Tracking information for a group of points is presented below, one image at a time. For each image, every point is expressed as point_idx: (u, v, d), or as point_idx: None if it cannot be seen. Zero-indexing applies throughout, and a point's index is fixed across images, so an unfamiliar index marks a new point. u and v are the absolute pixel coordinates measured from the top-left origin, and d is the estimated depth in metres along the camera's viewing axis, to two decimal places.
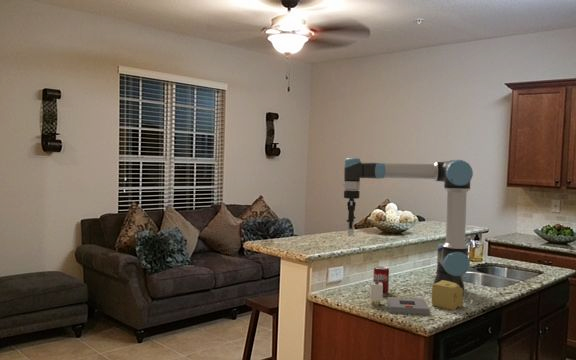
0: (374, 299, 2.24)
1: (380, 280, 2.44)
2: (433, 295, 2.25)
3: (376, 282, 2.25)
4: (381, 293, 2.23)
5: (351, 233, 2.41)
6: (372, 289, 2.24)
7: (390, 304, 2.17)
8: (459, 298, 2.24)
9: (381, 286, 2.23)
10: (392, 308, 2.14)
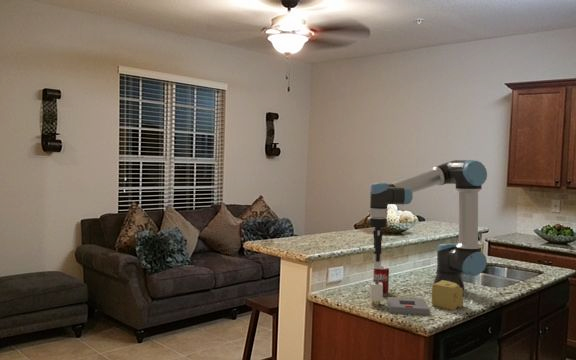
0: (374, 299, 2.24)
1: (380, 280, 2.44)
2: (433, 295, 2.25)
3: (376, 282, 2.25)
4: (381, 293, 2.23)
5: (378, 266, 2.19)
6: (372, 289, 2.24)
7: (390, 304, 2.17)
8: (459, 298, 2.24)
9: (381, 286, 2.23)
10: (392, 308, 2.14)
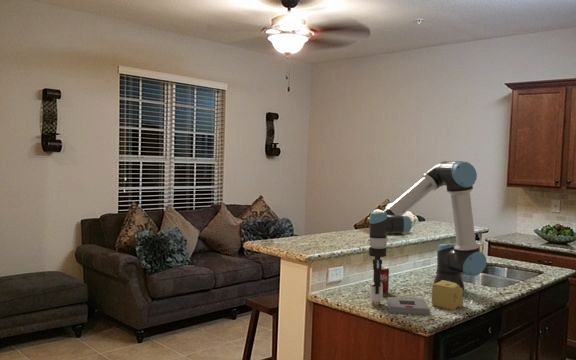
0: None
1: (380, 280, 2.44)
2: (433, 295, 2.25)
3: None
4: (381, 293, 2.23)
5: (377, 298, 2.23)
6: (372, 289, 2.24)
7: (390, 304, 2.17)
8: (459, 298, 2.24)
9: (381, 286, 2.23)
10: (392, 308, 2.14)
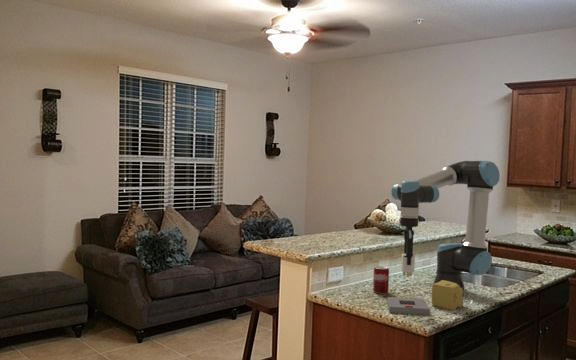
0: None
1: (380, 280, 2.44)
2: (433, 295, 2.25)
3: None
4: (413, 264, 2.17)
5: (409, 269, 2.17)
6: (403, 260, 2.18)
7: (390, 304, 2.17)
8: (459, 298, 2.24)
9: (413, 257, 2.17)
10: (392, 308, 2.14)
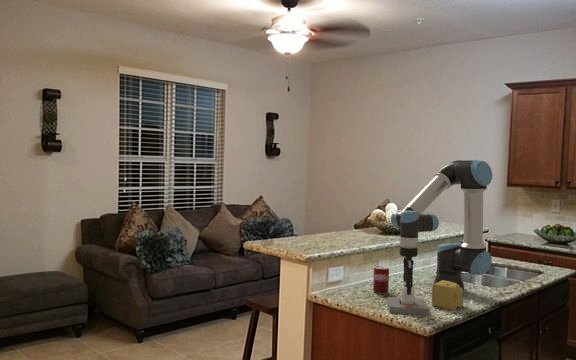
0: (405, 302, 2.18)
1: (380, 280, 2.44)
2: (433, 295, 2.25)
3: None
4: (412, 296, 2.18)
5: (409, 299, 2.16)
6: (403, 292, 2.18)
7: (390, 304, 2.17)
8: (459, 298, 2.24)
9: (412, 289, 2.18)
10: (392, 308, 2.14)
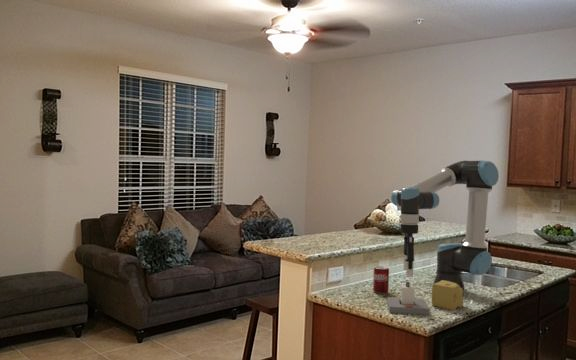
0: (405, 302, 2.18)
1: (380, 280, 2.44)
2: (433, 295, 2.25)
3: (407, 285, 2.20)
4: (412, 296, 2.18)
5: (410, 274, 2.13)
6: (403, 292, 2.18)
7: (390, 304, 2.17)
8: (459, 298, 2.24)
9: (412, 289, 2.18)
10: (392, 308, 2.14)
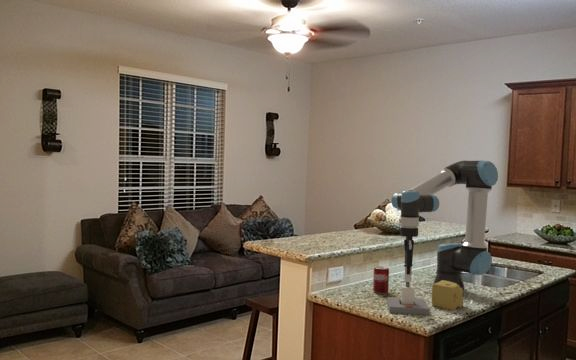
0: (405, 302, 2.18)
1: (380, 280, 2.44)
2: (433, 295, 2.25)
3: (407, 285, 2.20)
4: (412, 296, 2.18)
5: (409, 279, 2.19)
6: (403, 292, 2.18)
7: (390, 304, 2.17)
8: (459, 298, 2.24)
9: (412, 289, 2.18)
10: (392, 308, 2.14)
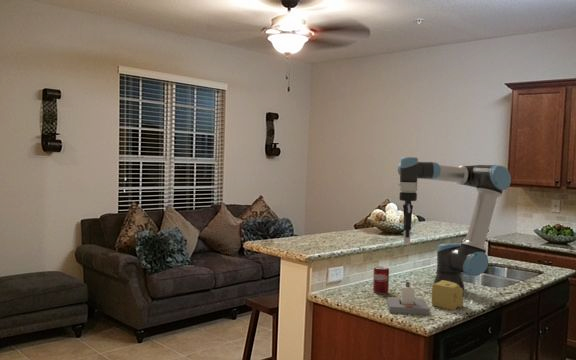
0: (405, 302, 2.18)
1: (380, 280, 2.44)
2: (433, 295, 2.25)
3: (407, 285, 2.20)
4: (412, 296, 2.18)
5: (407, 242, 2.28)
6: (403, 292, 2.18)
7: (390, 304, 2.17)
8: (459, 298, 2.24)
9: (412, 289, 2.18)
10: (392, 308, 2.14)
